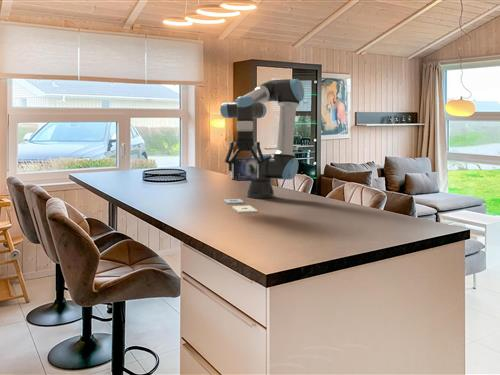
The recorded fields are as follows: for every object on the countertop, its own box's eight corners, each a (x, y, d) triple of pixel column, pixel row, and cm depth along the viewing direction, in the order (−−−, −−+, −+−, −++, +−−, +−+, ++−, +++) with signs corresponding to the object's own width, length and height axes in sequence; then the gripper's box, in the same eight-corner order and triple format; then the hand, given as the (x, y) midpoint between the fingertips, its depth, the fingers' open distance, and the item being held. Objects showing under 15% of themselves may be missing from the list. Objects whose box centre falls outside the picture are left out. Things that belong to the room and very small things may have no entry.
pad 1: (239, 200, 252) (239, 198, 252) (244, 203, 243) (244, 201, 242) (223, 201, 250) (223, 199, 250) (227, 204, 240) (227, 202, 240)
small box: (237, 181, 217) (237, 158, 216) (231, 180, 223) (231, 157, 221) (257, 180, 222) (258, 158, 220) (251, 179, 228) (251, 157, 226)
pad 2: (249, 207, 232) (249, 205, 232) (257, 212, 219) (257, 210, 219) (231, 207, 230) (231, 206, 230) (238, 213, 216) (238, 211, 216)
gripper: (267, 130, 226) (266, 176, 229) (218, 130, 220) (218, 177, 223) (271, 130, 219) (271, 178, 222) (221, 130, 213) (221, 179, 216)
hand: (244, 177), depth 222 cm, fingers closed on small box, 11 cm apart
